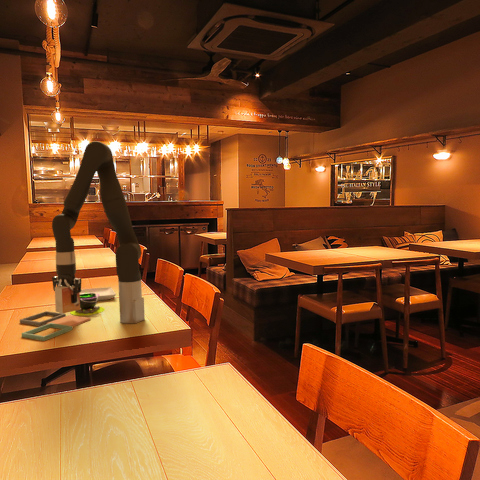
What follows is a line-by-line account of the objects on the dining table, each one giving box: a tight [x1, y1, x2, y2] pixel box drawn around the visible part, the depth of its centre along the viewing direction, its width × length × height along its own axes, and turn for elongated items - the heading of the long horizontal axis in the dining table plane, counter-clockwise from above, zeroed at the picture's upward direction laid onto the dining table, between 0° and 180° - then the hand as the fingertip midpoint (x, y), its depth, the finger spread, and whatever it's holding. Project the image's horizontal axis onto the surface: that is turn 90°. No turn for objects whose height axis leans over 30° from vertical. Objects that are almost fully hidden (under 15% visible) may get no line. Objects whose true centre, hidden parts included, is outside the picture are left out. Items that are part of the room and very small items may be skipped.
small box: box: [54, 285, 80, 314], centre depth 167 cm, size 8×6×10 cm
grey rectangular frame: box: [19, 311, 67, 327], centre depth 172 cm, size 11×13×2 cm
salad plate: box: [79, 286, 117, 302], centre depth 209 cm, size 21×21×3 cm
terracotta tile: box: [47, 314, 92, 328], centre depth 168 cm, size 12×12×1 cm
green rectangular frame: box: [21, 323, 73, 342], centre depth 154 cm, size 11×13×2 cm
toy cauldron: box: [69, 286, 106, 317], centre depth 185 cm, size 15×15×11 cm
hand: (67, 302), depth 167 cm, fingers closed on small box, 6 cm apart
